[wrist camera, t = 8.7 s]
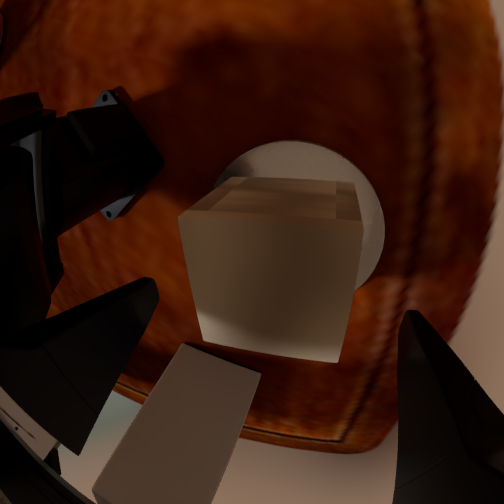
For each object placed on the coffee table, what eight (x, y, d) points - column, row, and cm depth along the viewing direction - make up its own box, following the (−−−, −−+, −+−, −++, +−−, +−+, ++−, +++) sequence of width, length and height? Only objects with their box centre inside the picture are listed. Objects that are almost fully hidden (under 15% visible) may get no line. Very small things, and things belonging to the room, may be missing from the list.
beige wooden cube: (240, 276, 15) (203, 340, 11) (231, 177, 13) (177, 216, 9) (342, 288, 14) (337, 362, 10) (354, 182, 11) (363, 229, 7)
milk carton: (262, 371, 21) (173, 581, 5) (246, 405, 25) (177, 564, 9) (182, 340, 22) (67, 526, 6) (182, 380, 26) (98, 526, 10)
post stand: (274, 315, 17) (254, 369, 14) (184, 201, 15) (136, 235, 11) (407, 258, 13) (426, 314, 9) (319, 103, 11) (311, 98, 7)
